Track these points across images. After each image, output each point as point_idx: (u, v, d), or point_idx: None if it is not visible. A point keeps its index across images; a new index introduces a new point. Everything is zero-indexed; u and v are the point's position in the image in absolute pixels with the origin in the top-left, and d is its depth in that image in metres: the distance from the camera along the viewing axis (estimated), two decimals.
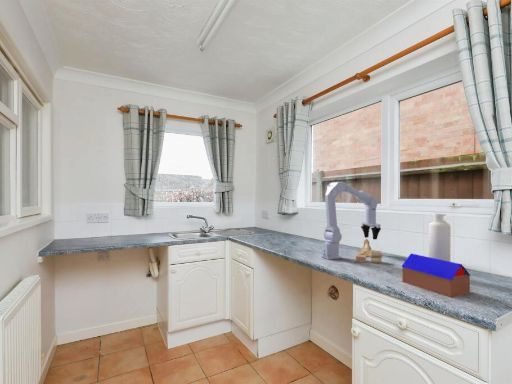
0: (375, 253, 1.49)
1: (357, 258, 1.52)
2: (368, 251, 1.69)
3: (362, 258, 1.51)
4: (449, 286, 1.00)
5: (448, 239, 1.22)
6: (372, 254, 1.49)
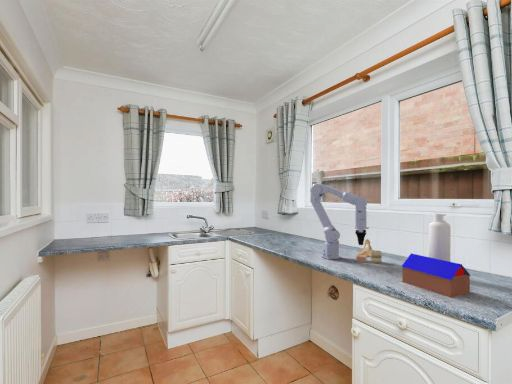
0: (375, 253, 1.49)
1: (358, 258, 1.52)
2: (368, 251, 1.69)
3: (362, 258, 1.51)
4: (449, 286, 1.00)
5: (448, 239, 1.22)
6: (372, 254, 1.49)
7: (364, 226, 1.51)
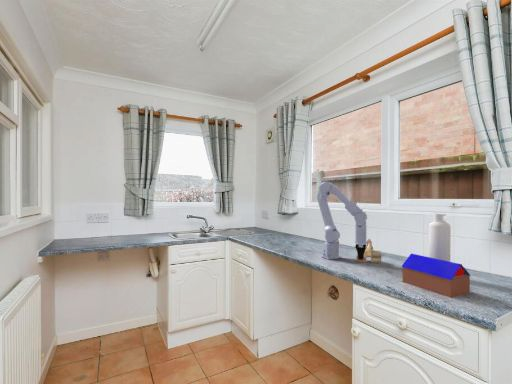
0: (375, 253, 1.49)
1: None
2: (369, 251, 1.69)
3: None
4: (449, 286, 1.00)
5: (448, 239, 1.22)
6: (371, 254, 1.49)
7: (364, 241, 1.51)
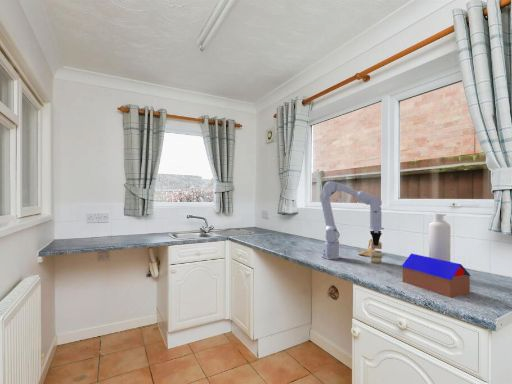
0: (375, 253, 1.49)
1: (373, 244, 1.49)
2: (370, 251, 1.69)
3: (378, 244, 1.48)
4: (448, 286, 1.00)
5: (448, 239, 1.22)
6: (372, 254, 1.49)
7: (379, 226, 1.48)
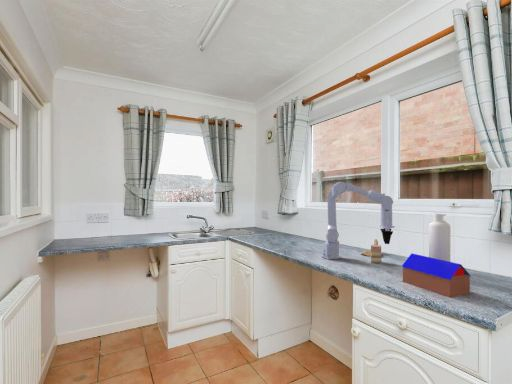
0: (375, 253, 1.49)
1: (372, 248, 1.49)
2: None
3: (377, 248, 1.48)
4: (448, 286, 1.00)
5: (448, 239, 1.22)
6: (372, 254, 1.49)
7: (390, 225, 1.49)
